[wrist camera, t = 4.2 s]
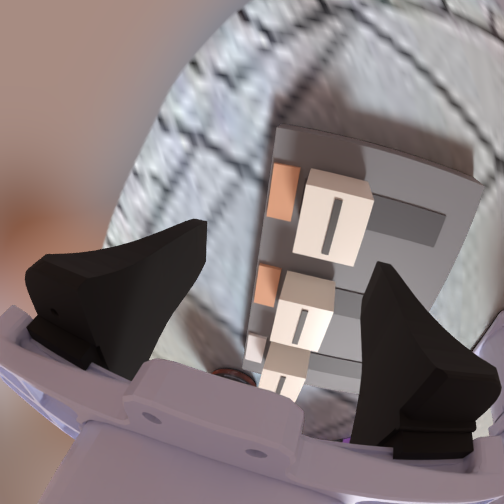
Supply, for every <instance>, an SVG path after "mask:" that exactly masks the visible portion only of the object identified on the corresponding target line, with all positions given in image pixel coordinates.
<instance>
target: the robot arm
mask: <svg viewBox="0 0 504 504" xmlns="http://www.w3.org/2000/svg"><path fill="white" fill-rule="evenodd" d="M206 241H207V221H203V220H198V219H191V220H188V221H185V222H182V223H180V224H177V225H175V226H173V227H170V228H168V229H165V230H163V231H160V232H158V233H155V234H153V235H150V236H147V237H145V238H142V239H139V240H136V241H133V242H130V243H126V244H123V245H119V246H115V247H110V248H105V249H100V250H96V251H88V252H81V253H69V254H46V255H45V256H43V257H42V258H41V259H40V260H38V261H37V262H36V263H35V264H33V265H32V266H31V267H30V268H28V270H27V271H26V274H25V283H26V287H27V290H28V293H29V295H30V298H31V300H32V303H33V305H34V307H35V310H36V312H37V314H38V315H37V316H36V317H35V318H34V319H32V318H31V317H30V316H29V315H28V314H27V313H26V312H24V311H23V310H21V309H20V308H18V307H17V306H15V305H12V306H11V307H10V308H9V309H8V310H7V311H6V312H4V313H3V314H2V315H1V316H0V378H1V379H2V380H3V381H4V382H5V383H6V384H7V385H8V386H9V387H10V388H11V389H12V390H14V391H15V392H16V393H17V394H18V395H19V396H20V397H22V398H23V399H24V400H25V401H26V402H27V403H29V404H30V405H31V406H32V407H33V408H34V409H36V410H37V411H38V412H39V413H41V414H42V415H43V416H44V417H45V418H47V419H48V420H49V421H51V422H52V423H53V424H54V425H56V426H57V427H58V428H60V429H61V430H62V431H64V432H65V433H66V434H68V435H69V436H70V437H72V438H73V439H75V441H74V443H73V444H72V446H71V448H70V449H69V451H68V452H67V454H66V456H65V457H64V459H63V461H62V462H61V464H60V465H59V467H58V469H57V471H56V472H55V474H54V476H53V477H52V479H51V480H50V482H49V484H48V486H47V487H46V489H45V491H44V492H43V494H42V496H41V498H40V499H39V501H38V503H37V504H488V503H489V504H504V311H501V312H500V313H499V314H498V316H497V318H496V319H495V321H494V322H493V324H492V325H491V326H490V328H489V329H488V331H487V332H486V334H485V335H484V336H483V338H482V339H481V341H480V342H479V343H478V345H477V346H476V347H475V349H474V350H473V351H470V350H469V349H468V348H466V347H465V346H464V345H462V344H461V343H460V342H459V341H458V340H456V339H455V338H454V337H453V336H452V335H451V334H450V333H448V332H447V331H446V330H445V329H444V328H443V327H442V326H441V325H440V324H439V323H438V322H437V321H436V320H435V319H434V318H433V317H432V315H431V314H430V313H429V312H428V311H427V310H426V309H425V307H424V306H423V305H422V304H421V303H420V301H419V300H418V299H417V298H416V296H415V295H414V294H413V292H412V291H411V290H410V288H409V287H408V286H407V284H406V283H405V282H404V280H403V279H402V278H401V276H400V275H399V274H398V272H397V271H396V270H395V268H394V267H393V266H392V265H391V264H388V263H384V262H380V261H377V262H376V265H375V268H374V270H373V273H372V275H371V278H370V280H369V283H368V285H367V288H366V290H365V293H364V295H363V298H362V303H361V316H360V326H361V350H362V373H361V382H360V391H359V397H358V404H357V410H356V415H355V420H354V425H353V430H352V434H351V438H350V442H349V443H342V442H335V441H329V440H323V439H317V438H311V437H308V436H305V435H303V434H302V430H303V425H304V411H303V410H302V409H301V408H300V407H299V406H298V405H297V404H295V403H294V402H293V401H292V400H291V399H290V398H288V397H285V396H283V395H280V394H278V393H275V392H273V391H270V390H266V389H262V388H258V387H255V386H251V385H247V384H244V383H240V382H237V381H233V380H230V379H226V378H223V377H220V376H217V375H213V374H210V373H207V372H204V371H201V370H198V369H195V368H192V367H189V366H186V365H183V364H180V363H178V362H174V361H169V360H164V359H153V360H149V358H150V356H151V354H152V352H153V350H154V348H155V346H156V344H157V341H158V339H159V337H160V335H161V334H162V332H163V330H164V328H165V326H166V324H167V322H168V321H169V319H170V317H171V316H172V314H173V313H174V311H175V310H176V308H177V307H178V306H179V304H180V303H181V301H182V300H183V299H184V297H185V296H186V294H187V293H188V291H189V290H190V289H191V287H192V286H193V284H194V283H195V281H196V280H197V278H198V276H199V274H200V273H201V271H202V268H203V266H204V264H205V262H206ZM489 408H491V413H492V418H493V425H492V426H490V427H489V428H488V429H489V436H488V437H479V438H476V439H474V440H473V438H472V432H474V431H475V430H476V420H477V419H478V418H479V417H480V416H481V415H482V414H484V413H485V412H486V411H487V410H488V409H489Z"/></svg>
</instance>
